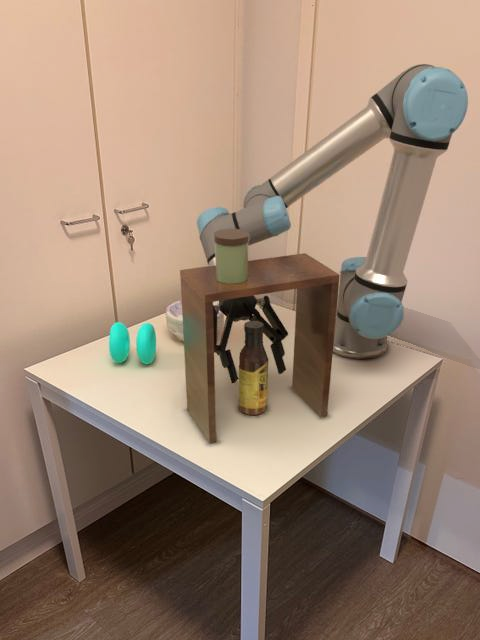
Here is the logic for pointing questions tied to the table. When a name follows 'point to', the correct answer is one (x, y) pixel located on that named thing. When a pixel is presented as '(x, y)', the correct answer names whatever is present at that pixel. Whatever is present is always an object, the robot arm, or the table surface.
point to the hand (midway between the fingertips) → (259, 376)
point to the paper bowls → (176, 319)
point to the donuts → (121, 343)
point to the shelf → (263, 277)
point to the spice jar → (231, 255)
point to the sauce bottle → (253, 370)
